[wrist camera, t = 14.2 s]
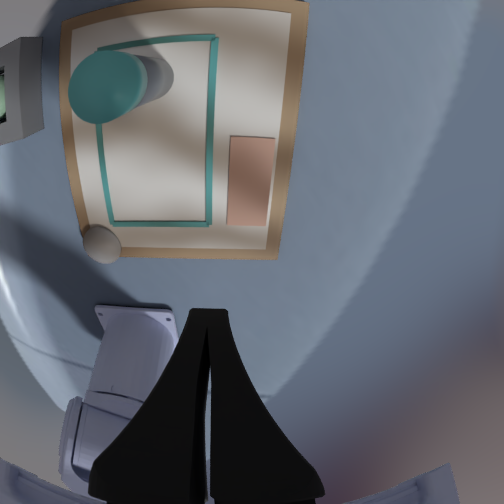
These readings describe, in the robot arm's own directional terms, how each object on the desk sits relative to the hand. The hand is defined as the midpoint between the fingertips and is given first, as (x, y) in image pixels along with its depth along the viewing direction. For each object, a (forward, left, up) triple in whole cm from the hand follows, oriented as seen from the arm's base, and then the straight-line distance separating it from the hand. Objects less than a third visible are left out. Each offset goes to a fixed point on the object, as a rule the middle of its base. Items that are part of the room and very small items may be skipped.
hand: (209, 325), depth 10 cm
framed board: (+5, +3, -10) cm, 11 cm away
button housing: (+10, +16, -10) cm, 21 cm away
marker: (+9, +4, -9) cm, 13 cm away
